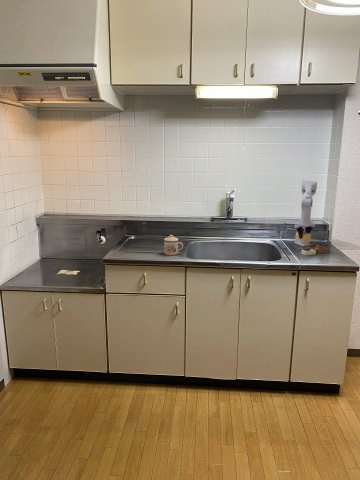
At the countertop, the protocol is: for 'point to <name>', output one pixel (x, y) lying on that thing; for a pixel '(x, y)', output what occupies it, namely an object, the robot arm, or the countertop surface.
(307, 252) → the bay
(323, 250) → the tray
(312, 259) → the countertop surface
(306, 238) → the yellow rectangular block
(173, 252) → the teacup with lid
